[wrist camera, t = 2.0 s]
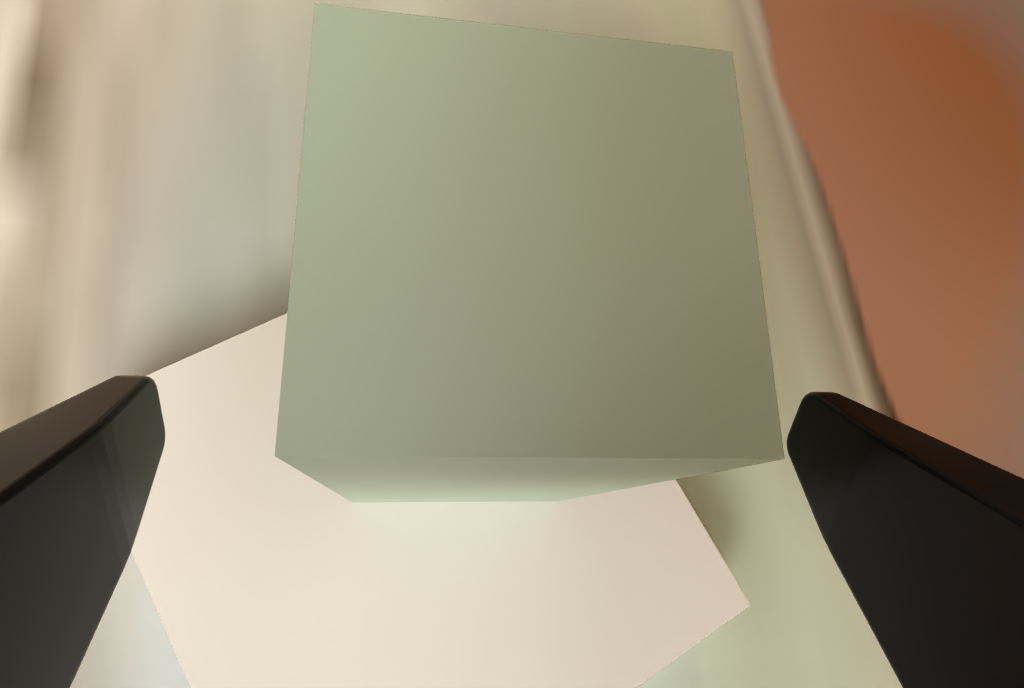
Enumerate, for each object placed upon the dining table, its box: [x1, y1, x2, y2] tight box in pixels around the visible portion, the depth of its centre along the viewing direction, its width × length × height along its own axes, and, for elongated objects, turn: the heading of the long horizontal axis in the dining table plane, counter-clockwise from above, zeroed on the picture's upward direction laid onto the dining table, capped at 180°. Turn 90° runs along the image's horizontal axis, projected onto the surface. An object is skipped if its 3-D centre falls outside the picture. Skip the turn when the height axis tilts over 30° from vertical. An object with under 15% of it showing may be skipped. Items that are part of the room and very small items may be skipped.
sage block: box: [275, 4, 784, 503], centre depth 12 cm, size 5×5×10 cm
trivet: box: [131, 313, 750, 688], centre depth 16 cm, size 12×12×2 cm
